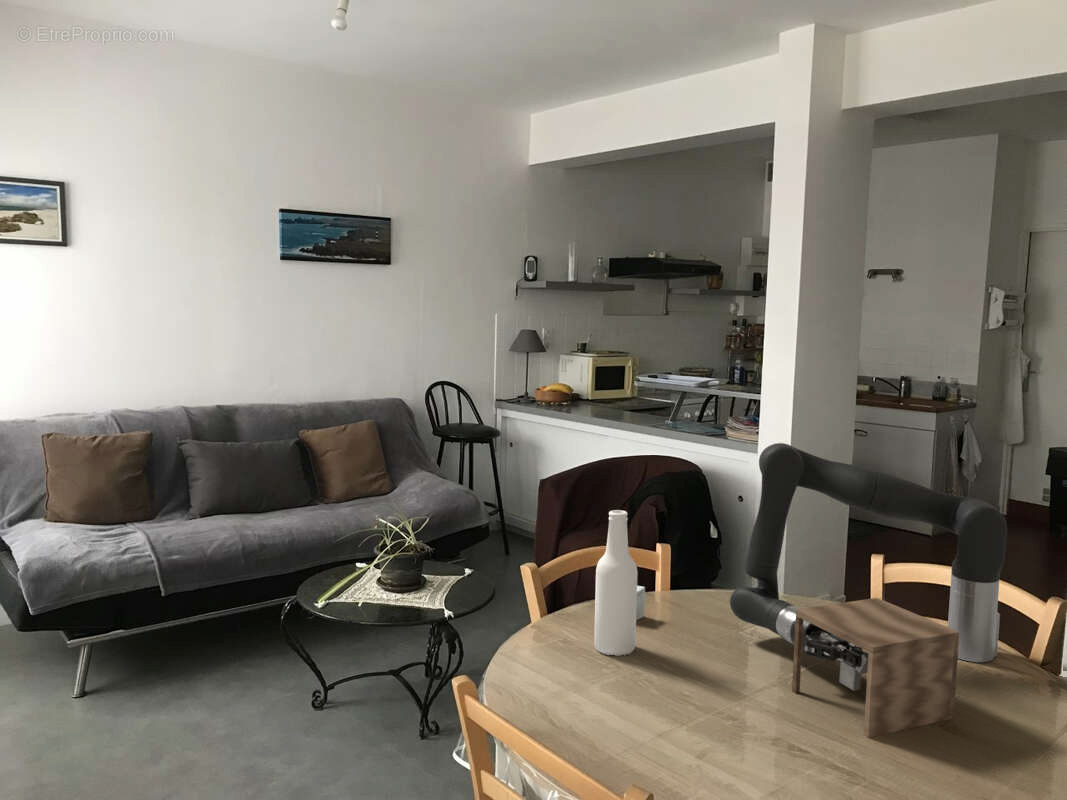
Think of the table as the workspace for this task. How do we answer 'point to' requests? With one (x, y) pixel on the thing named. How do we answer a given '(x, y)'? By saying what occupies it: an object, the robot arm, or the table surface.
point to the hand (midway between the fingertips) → (864, 661)
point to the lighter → (853, 673)
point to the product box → (640, 602)
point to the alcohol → (616, 592)
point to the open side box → (892, 661)
